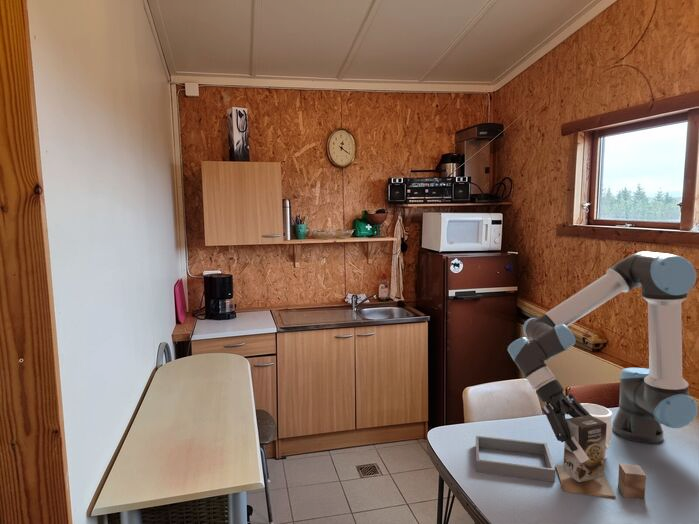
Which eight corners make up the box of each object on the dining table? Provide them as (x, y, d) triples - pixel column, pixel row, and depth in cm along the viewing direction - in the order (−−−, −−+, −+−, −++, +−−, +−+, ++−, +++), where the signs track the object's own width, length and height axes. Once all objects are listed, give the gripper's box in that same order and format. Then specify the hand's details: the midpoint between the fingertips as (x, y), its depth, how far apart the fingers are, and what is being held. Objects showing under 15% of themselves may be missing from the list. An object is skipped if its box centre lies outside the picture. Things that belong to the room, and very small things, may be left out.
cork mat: (602, 472, 136) (602, 470, 136) (615, 498, 123) (615, 496, 123) (555, 466, 139) (555, 464, 139) (563, 491, 127) (563, 489, 127)
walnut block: (637, 489, 128) (639, 465, 127) (644, 499, 123) (646, 475, 122) (618, 486, 129) (619, 463, 128) (623, 497, 124) (625, 473, 123)
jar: (568, 454, 146) (570, 410, 144) (578, 442, 153) (580, 400, 152) (605, 466, 139) (607, 419, 137) (614, 453, 146) (616, 409, 145)
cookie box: (579, 483, 127) (581, 428, 125) (562, 470, 133) (564, 418, 131) (605, 477, 129) (607, 423, 128) (587, 465, 136) (589, 413, 134)
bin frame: (546, 453, 147) (546, 443, 146) (555, 481, 131) (555, 470, 131) (475, 445, 152) (475, 435, 152) (476, 471, 137) (476, 460, 137)
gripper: (557, 382, 148) (604, 448, 137) (515, 399, 135) (563, 473, 124) (574, 371, 143) (624, 438, 132) (531, 387, 130) (583, 463, 119)
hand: (595, 455), depth 128 cm, fingers closed on cookie box, 10 cm apart
